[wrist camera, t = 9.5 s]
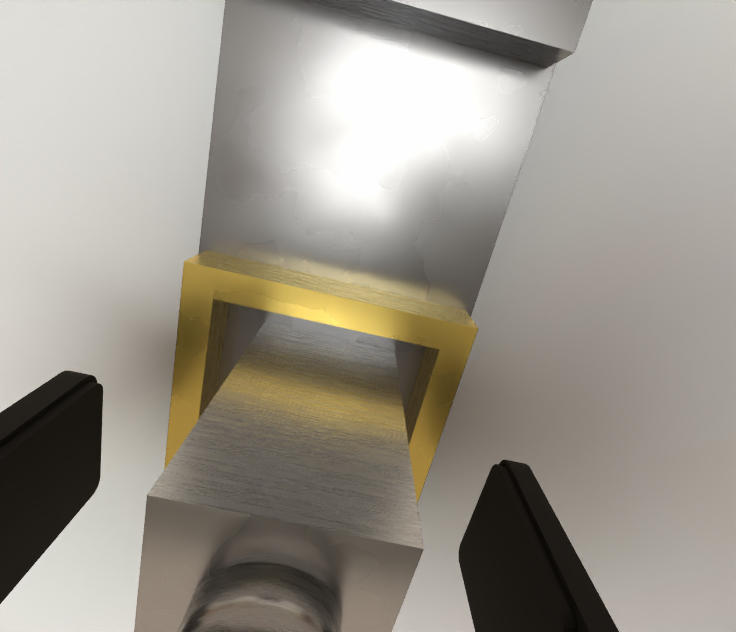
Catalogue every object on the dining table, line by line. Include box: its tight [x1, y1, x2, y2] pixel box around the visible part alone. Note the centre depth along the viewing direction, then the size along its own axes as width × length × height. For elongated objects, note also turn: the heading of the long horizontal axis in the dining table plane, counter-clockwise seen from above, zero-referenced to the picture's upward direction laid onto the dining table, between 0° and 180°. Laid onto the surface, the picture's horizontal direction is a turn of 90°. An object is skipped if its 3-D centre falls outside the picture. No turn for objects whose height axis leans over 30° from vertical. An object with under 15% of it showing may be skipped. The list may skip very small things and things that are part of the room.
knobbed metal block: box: [134, 322, 424, 632], centre depth 9 cm, size 4×4×8 cm
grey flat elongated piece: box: [164, 0, 593, 503], centre depth 11 cm, size 8×24×4 cm, turn 167°
